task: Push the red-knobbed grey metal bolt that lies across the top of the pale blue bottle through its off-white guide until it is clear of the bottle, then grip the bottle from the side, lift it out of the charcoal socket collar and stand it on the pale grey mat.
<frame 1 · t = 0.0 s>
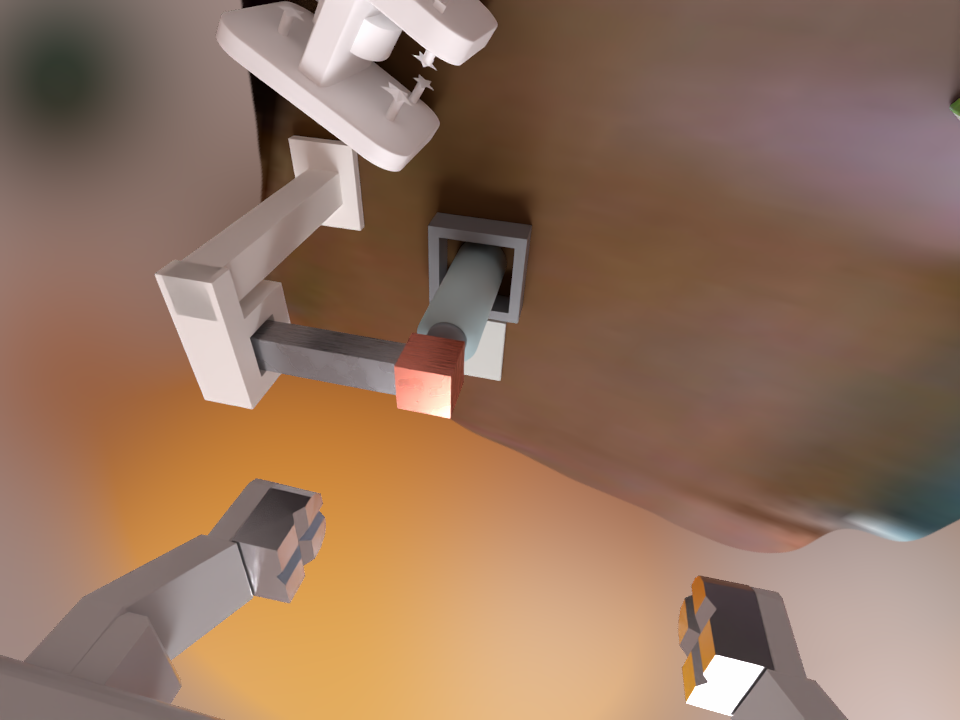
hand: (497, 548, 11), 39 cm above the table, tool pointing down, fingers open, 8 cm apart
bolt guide: (338, 240, 53), on the table
cable organizer: (392, 12, 40), on the table
bolt: (322, 355, 39), point 17 cm above the table, slide at 0.0 cm
socket collar: (481, 261, 51), on the table
pale blue bottle: (465, 298, 46), in the socket collar
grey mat: (468, 344, 58), on the table
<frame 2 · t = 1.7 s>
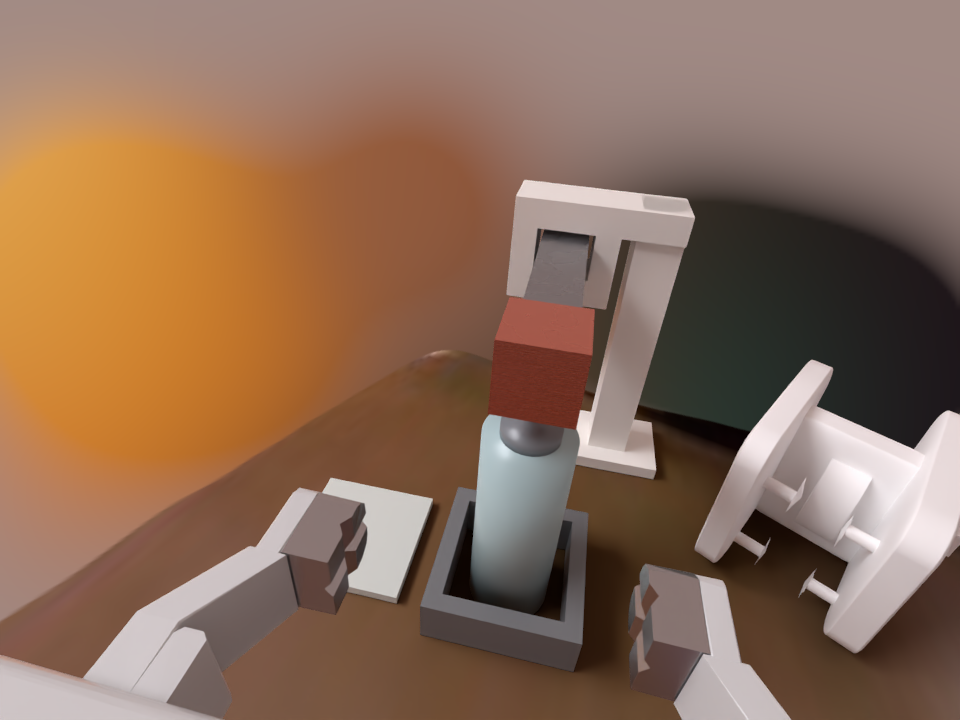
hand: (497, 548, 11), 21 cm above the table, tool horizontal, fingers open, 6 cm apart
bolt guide: (535, 432, 46), on the table
cable organizer: (796, 549, 38), on the table
bolt: (557, 283, 31), point 18 cm above the table, slide at 0.0 cm
socket collar: (507, 583, 34), on the table
pale blue bottle: (518, 514, 30), in the socket collar
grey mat: (360, 537, 36), on the table
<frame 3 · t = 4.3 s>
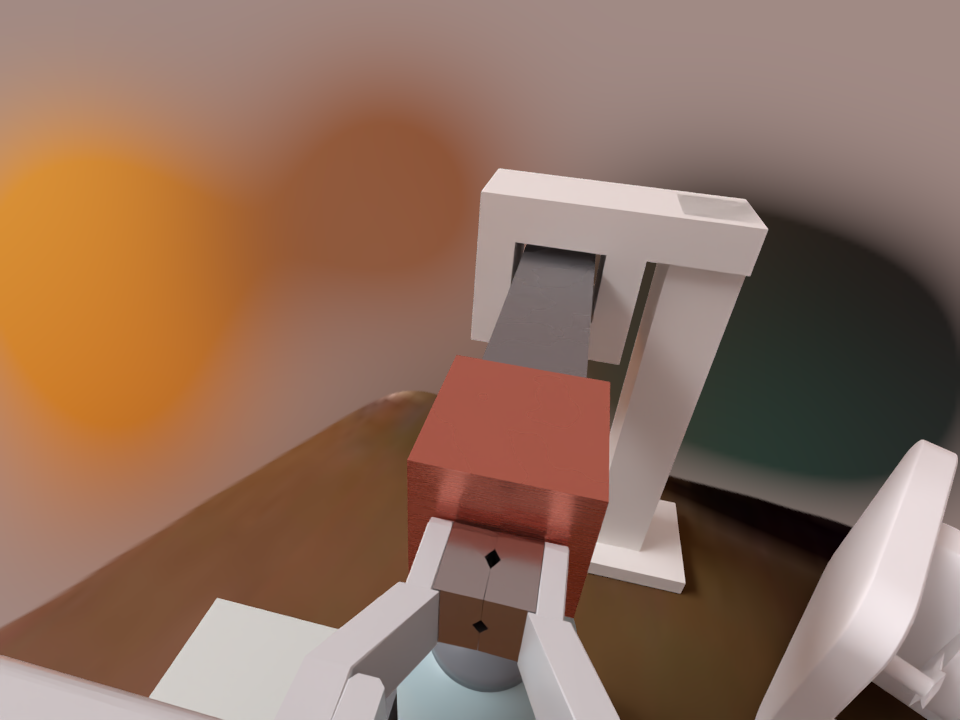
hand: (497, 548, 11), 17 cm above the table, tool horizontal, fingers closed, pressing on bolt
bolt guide: (517, 516, 34), on the table
cable organizer: (897, 718, 26), on the table
bolt: (547, 317, 20), point 17 cm above the table, slide at 1.4 cm, touching gripper
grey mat: (244, 705, 24), on the table
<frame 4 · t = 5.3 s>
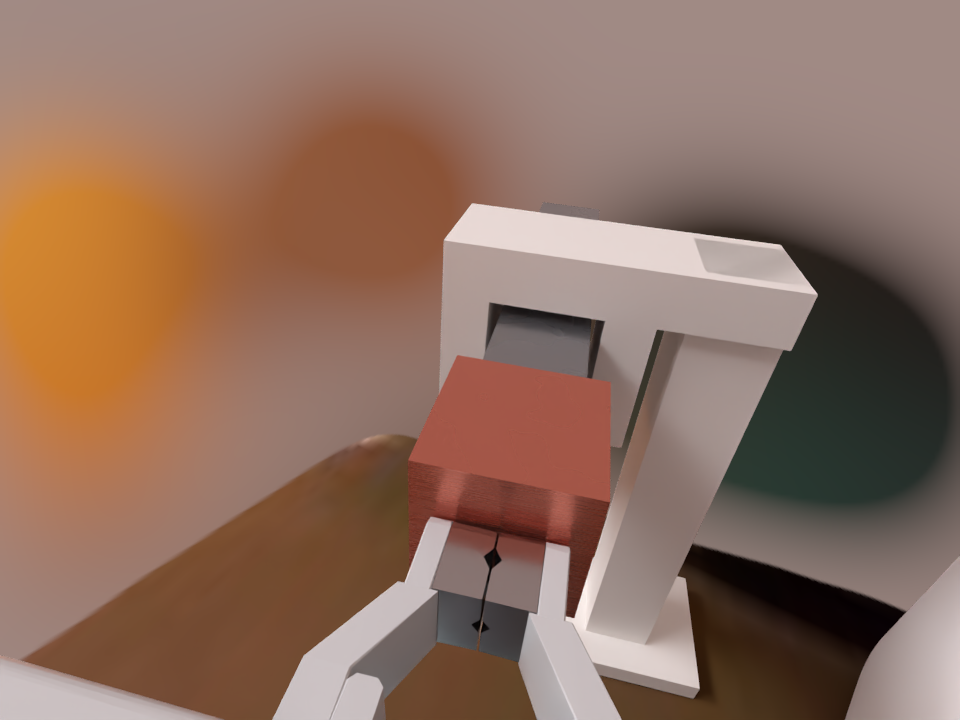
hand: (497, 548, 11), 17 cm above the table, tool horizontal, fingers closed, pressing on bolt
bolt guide: (502, 594, 29), on the table
bolt: (547, 317, 20), point 18 cm above the table, slide at 7.1 cm, touching gripper
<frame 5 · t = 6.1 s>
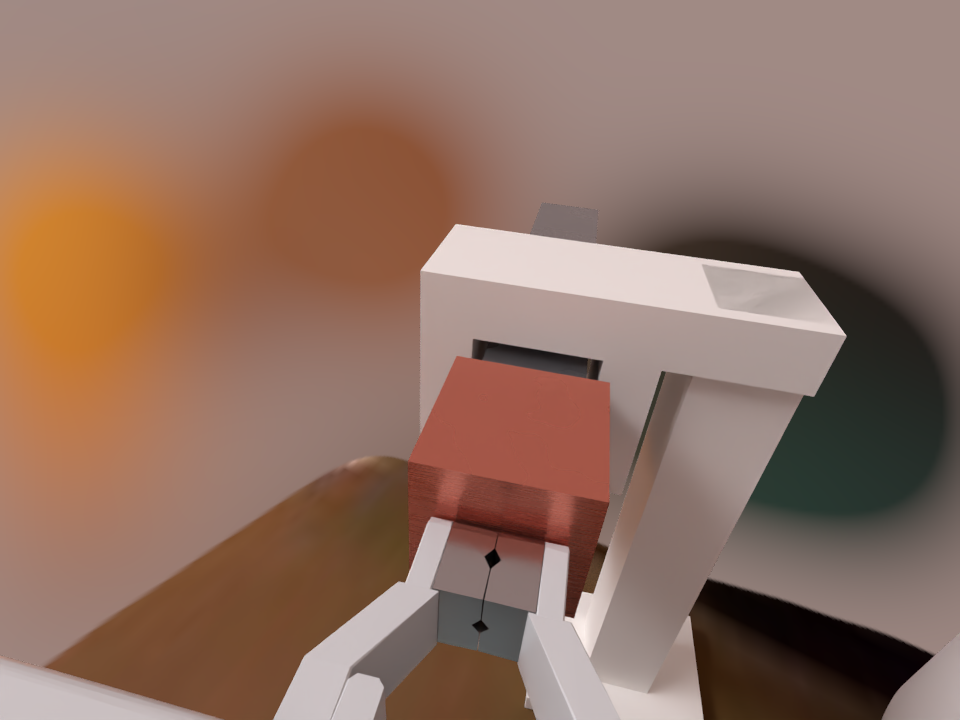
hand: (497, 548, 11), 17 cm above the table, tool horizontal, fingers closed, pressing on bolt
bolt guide: (494, 635, 27), on the table
bolt: (546, 318, 20), point 18 cm above the table, slide at 9.4 cm, touching gripper
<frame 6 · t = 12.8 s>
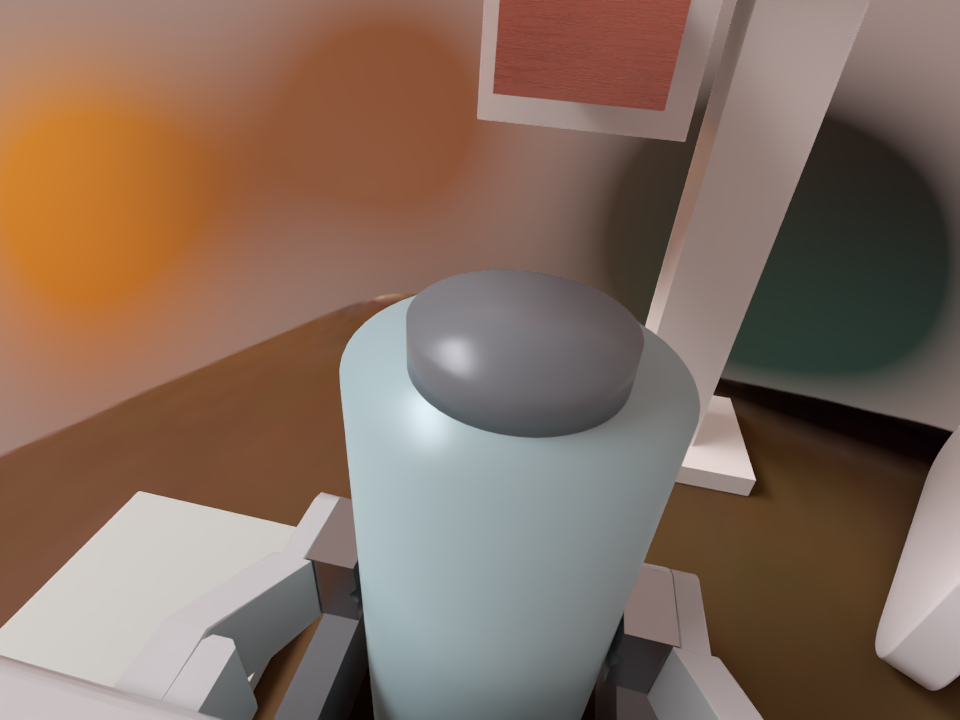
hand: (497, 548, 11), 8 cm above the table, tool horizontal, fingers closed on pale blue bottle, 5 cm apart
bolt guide: (533, 413, 27), on the table
bolt: (600, 7, 20), point 18 cm above the table, slide at 9.4 cm
pale blue bottle: (486, 604, 11), in the socket collar, touching gripper
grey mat: (161, 619, 17), on the table
when the fingers open (10 cm above the table, at t = 16.9 s): pale blue bottle drops 1 cm, resting on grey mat.
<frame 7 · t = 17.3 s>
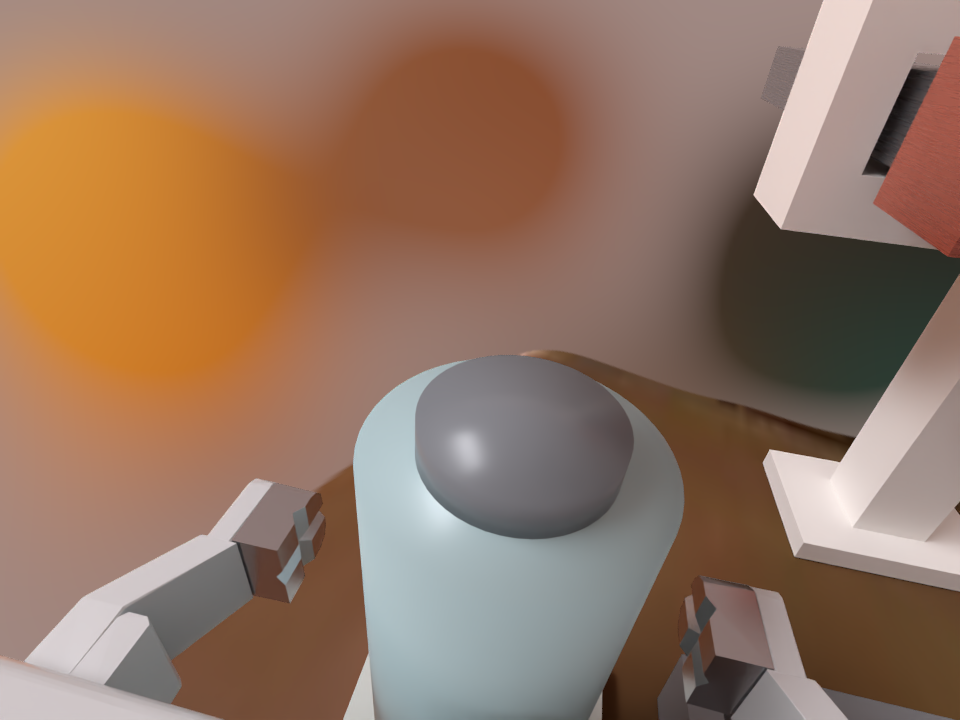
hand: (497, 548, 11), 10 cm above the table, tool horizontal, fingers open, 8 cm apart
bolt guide: (734, 497, 26), on the table
bolt: (886, 102, 19), point 18 cm above the table, slide at 9.4 cm
pale blue bottle: (484, 648, 12), on the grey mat, point 8 cm above the table
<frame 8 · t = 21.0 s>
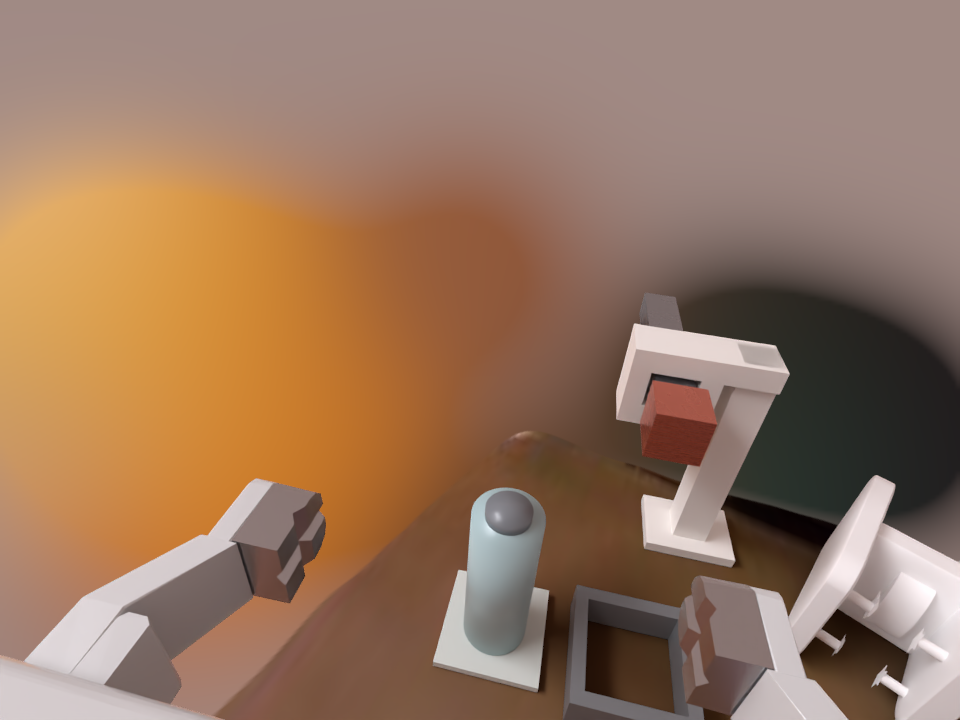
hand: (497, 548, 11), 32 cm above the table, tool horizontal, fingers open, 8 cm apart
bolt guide: (622, 519, 52), on the table
cable organizer: (862, 636, 44), on the table
bolt: (665, 360, 45), point 18 cm above the table, slide at 9.4 cm
socket collar: (625, 672, 40), on the table
pale blue bottle: (501, 572, 38), on the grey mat, point 8 cm above the table
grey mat: (494, 627, 42), on the table
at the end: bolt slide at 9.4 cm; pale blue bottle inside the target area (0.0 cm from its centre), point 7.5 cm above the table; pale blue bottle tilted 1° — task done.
